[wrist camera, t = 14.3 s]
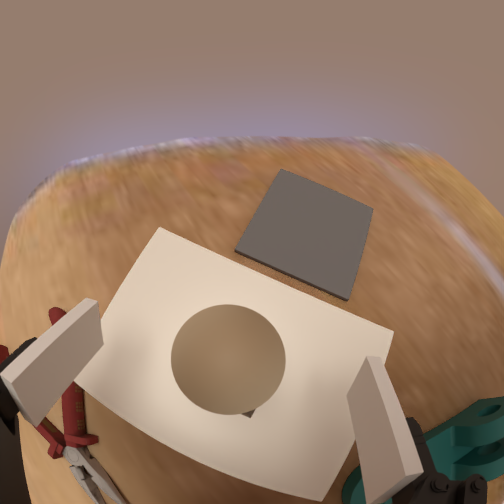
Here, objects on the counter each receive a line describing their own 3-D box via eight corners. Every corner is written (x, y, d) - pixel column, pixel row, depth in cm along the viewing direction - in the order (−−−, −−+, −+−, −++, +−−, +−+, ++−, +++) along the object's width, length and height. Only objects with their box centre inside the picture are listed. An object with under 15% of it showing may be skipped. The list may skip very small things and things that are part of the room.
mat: (371, 211, 28) (373, 208, 28) (346, 301, 23) (348, 299, 23) (280, 171, 30) (280, 168, 29) (234, 251, 25) (234, 249, 25)
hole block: (371, 340, 22) (394, 331, 18) (308, 484, 16) (321, 501, 12) (169, 249, 25) (159, 226, 21) (94, 380, 19) (70, 378, 15)
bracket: (478, 399, 19) (529, 391, 12) (479, 448, 16) (527, 449, 9) (338, 468, 17) (380, 497, 10) (343, 522, 14) (379, 558, 7)
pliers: (87, 521, 12) (76, 529, 10) (3, 351, 19) (-12, 346, 16) (175, 497, 15) (169, 508, 13) (69, 307, 22) (55, 299, 20)
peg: (263, 361, 21) (303, 332, 8) (244, 400, 19) (256, 432, 7) (223, 343, 21) (203, 286, 9) (204, 381, 20) (151, 380, 7)
